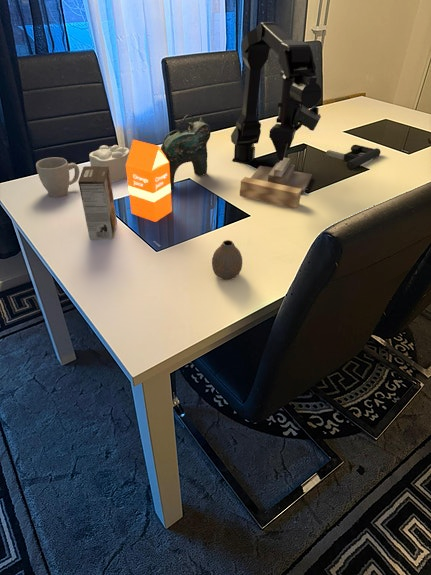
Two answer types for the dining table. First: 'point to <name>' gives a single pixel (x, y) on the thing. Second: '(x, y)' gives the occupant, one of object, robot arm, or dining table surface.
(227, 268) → the vase
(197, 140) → the dark green animal statue
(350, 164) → the door handle
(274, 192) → the oak beam
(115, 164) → the lumpy-topped squat cylinder
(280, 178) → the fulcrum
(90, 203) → the coffee box
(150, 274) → the dining table surface
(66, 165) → the mug
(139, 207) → the orange juice
